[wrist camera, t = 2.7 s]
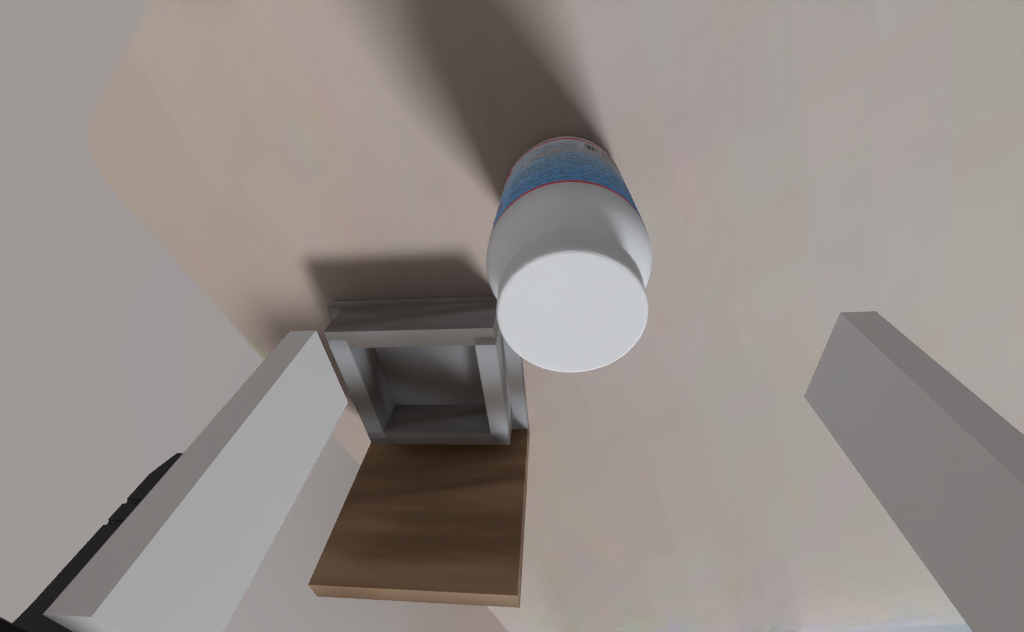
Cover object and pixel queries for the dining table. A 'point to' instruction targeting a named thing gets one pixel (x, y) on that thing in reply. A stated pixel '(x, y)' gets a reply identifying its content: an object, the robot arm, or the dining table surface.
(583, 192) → the pill bottle
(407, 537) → the cup bracket
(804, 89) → the dining table surface
